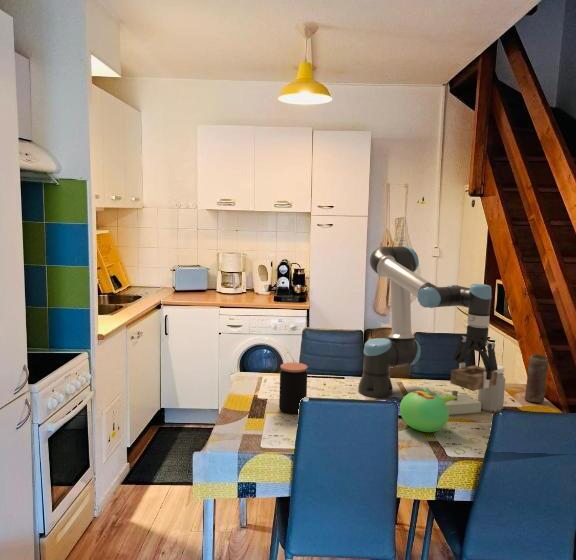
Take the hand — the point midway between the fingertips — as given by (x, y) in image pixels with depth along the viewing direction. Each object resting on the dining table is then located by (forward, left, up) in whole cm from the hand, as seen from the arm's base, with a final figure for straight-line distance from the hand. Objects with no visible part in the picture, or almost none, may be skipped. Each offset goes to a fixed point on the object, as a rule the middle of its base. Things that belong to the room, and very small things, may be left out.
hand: (473, 383), depth 188 cm
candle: (+42, +15, -16) cm, 47 cm away
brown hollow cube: (0, 0, 0) cm, 0 cm away
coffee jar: (-64, +23, -16) cm, 70 cm away
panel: (+1, +13, -15) cm, 20 cm away
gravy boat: (-21, -3, -16) cm, 26 cm away
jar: (+17, +11, -16) cm, 26 cm away
